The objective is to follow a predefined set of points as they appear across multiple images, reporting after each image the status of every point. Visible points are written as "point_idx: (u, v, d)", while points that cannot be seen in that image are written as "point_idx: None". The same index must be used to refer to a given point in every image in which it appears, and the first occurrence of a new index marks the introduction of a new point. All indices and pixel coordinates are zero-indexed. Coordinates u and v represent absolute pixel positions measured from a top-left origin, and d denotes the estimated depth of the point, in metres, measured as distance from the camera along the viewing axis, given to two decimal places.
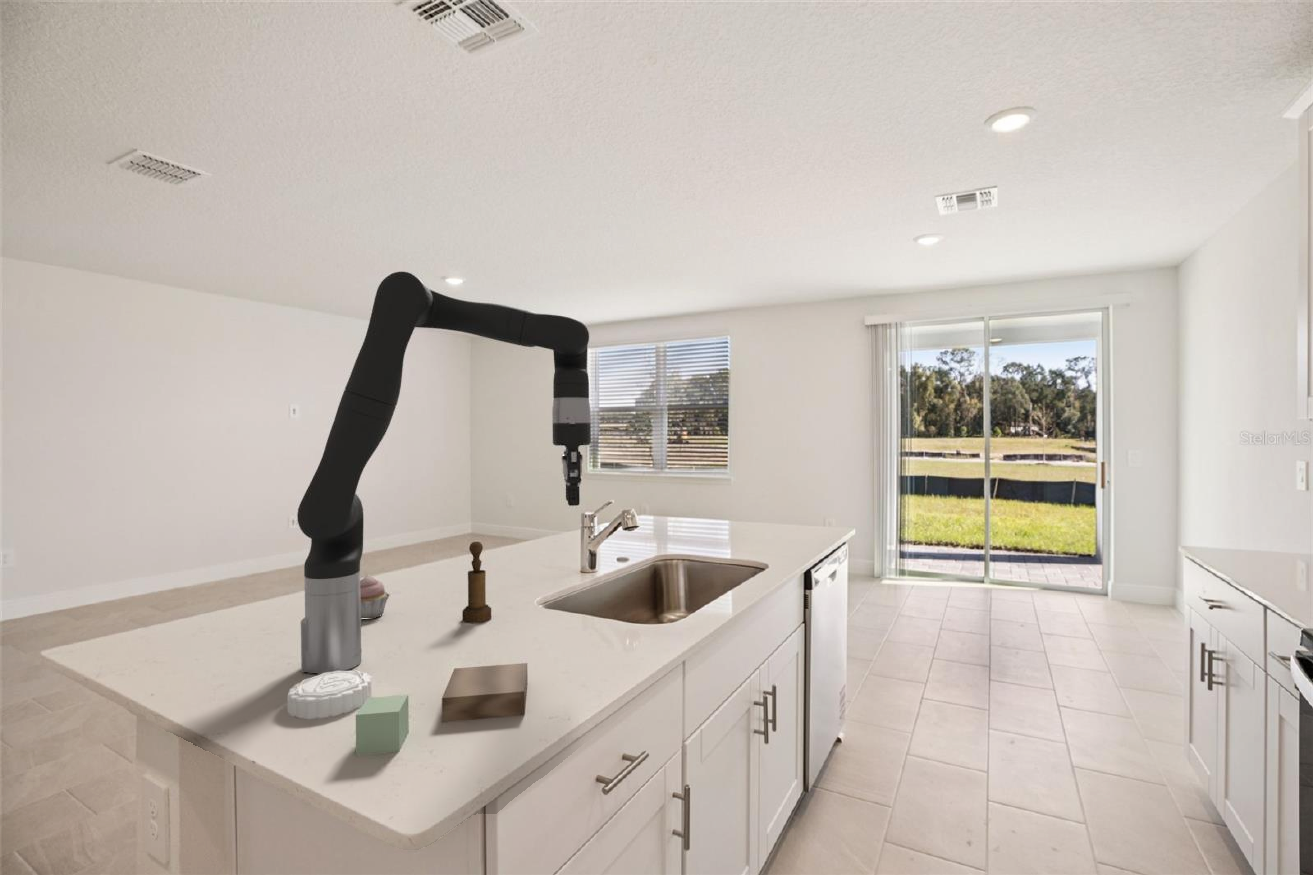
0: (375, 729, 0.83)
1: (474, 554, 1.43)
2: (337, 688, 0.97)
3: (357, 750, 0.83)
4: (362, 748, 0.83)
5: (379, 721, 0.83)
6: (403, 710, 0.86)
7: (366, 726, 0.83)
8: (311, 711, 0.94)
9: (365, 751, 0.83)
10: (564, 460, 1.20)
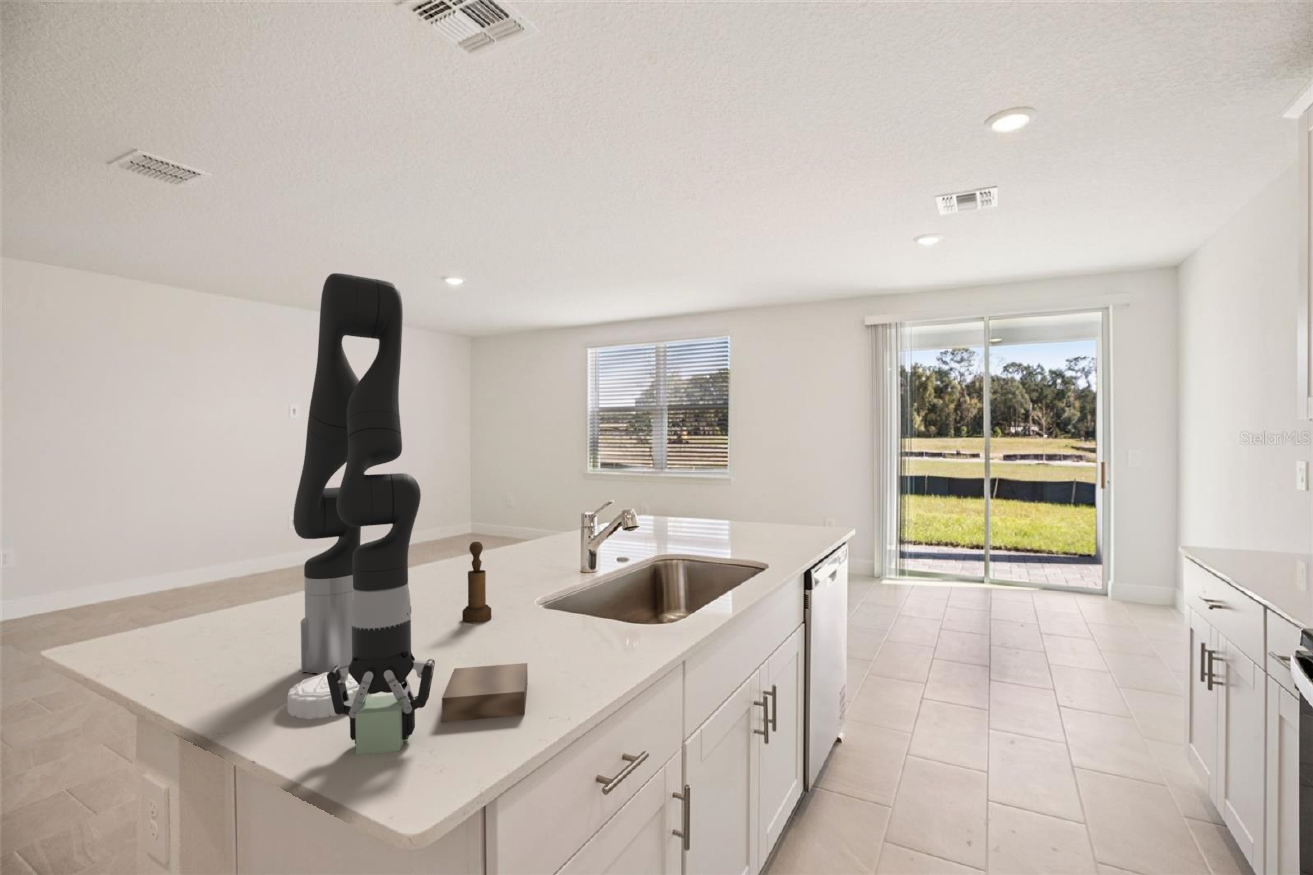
0: (375, 728, 0.83)
1: (474, 554, 1.43)
2: None
3: (357, 749, 0.83)
4: (362, 747, 0.83)
5: (379, 720, 0.83)
6: None
7: (366, 726, 0.83)
8: (311, 711, 0.94)
9: (365, 750, 0.83)
10: (396, 677, 0.85)
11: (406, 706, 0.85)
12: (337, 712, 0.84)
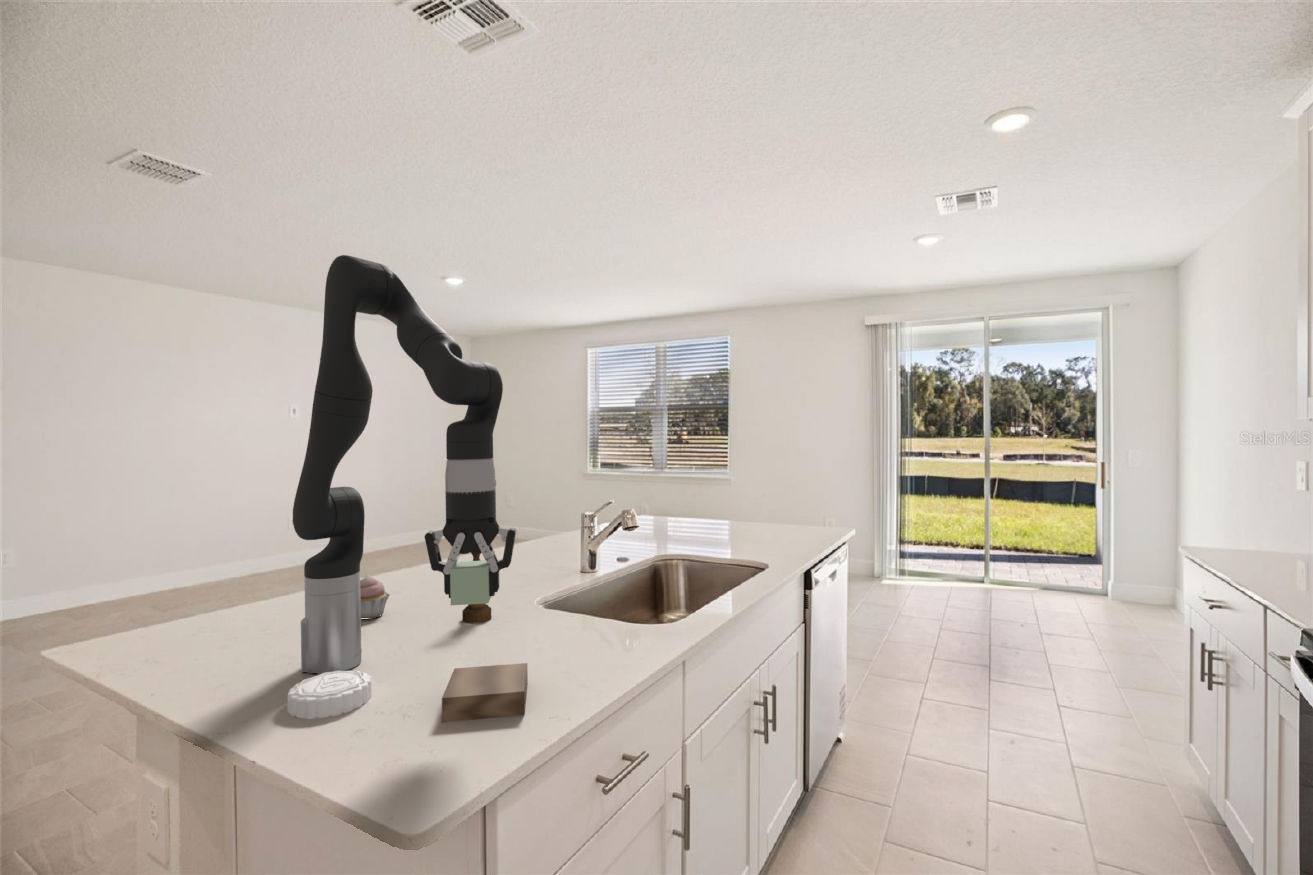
0: (467, 582, 0.94)
1: (474, 554, 1.43)
2: (337, 688, 0.97)
3: (451, 600, 0.94)
4: (456, 598, 0.94)
5: (471, 575, 0.94)
6: (489, 570, 0.97)
7: (459, 579, 0.94)
8: (311, 711, 0.94)
9: (458, 601, 0.94)
10: (484, 539, 0.95)
11: (493, 566, 0.96)
12: (433, 568, 0.95)
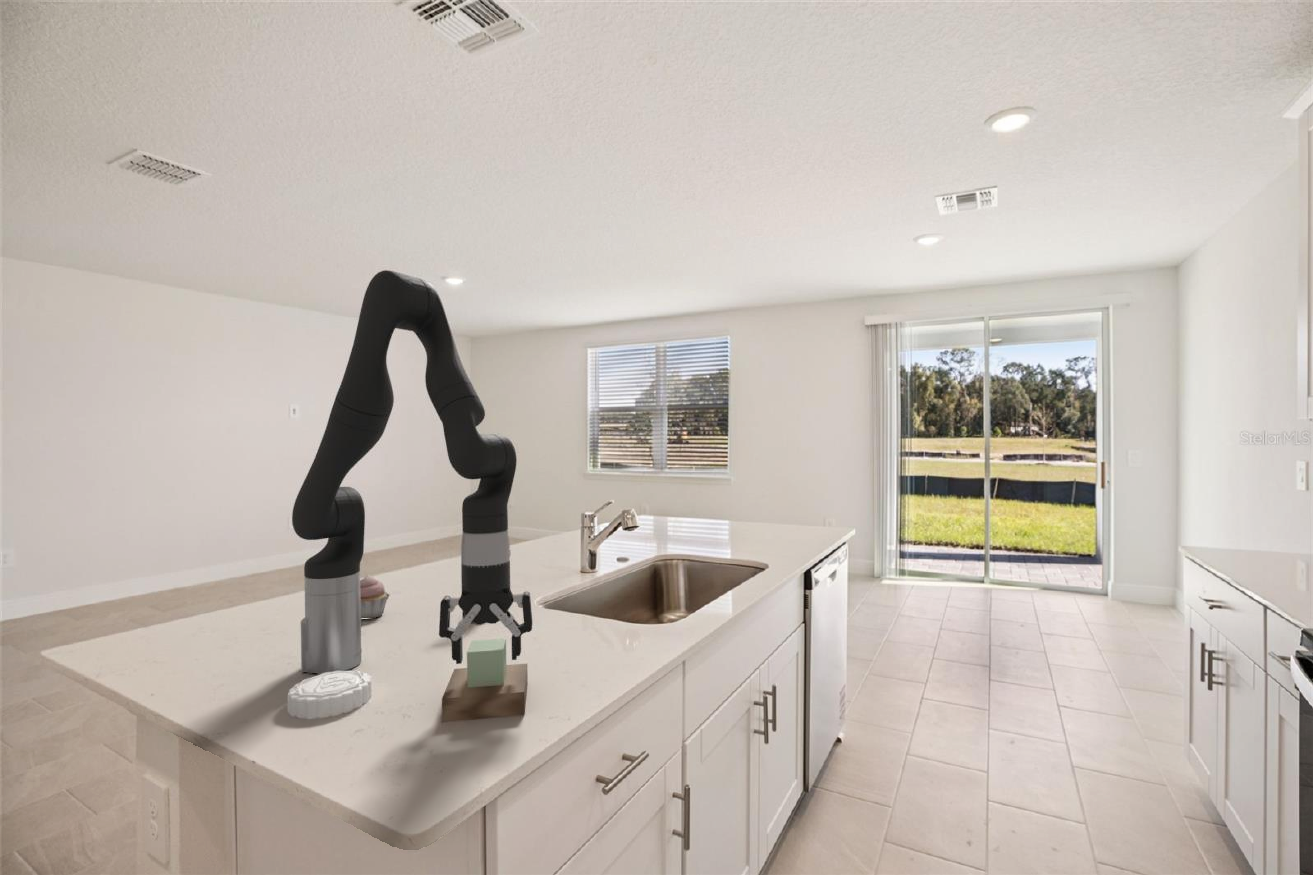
0: (483, 664, 0.96)
1: None
2: (337, 688, 0.97)
3: (468, 682, 0.96)
4: (472, 681, 0.96)
5: (487, 658, 0.96)
6: (504, 650, 0.99)
7: (476, 662, 0.96)
8: (311, 711, 0.94)
9: (475, 683, 0.96)
10: (500, 608, 0.98)
11: (515, 630, 0.98)
12: (441, 635, 0.96)
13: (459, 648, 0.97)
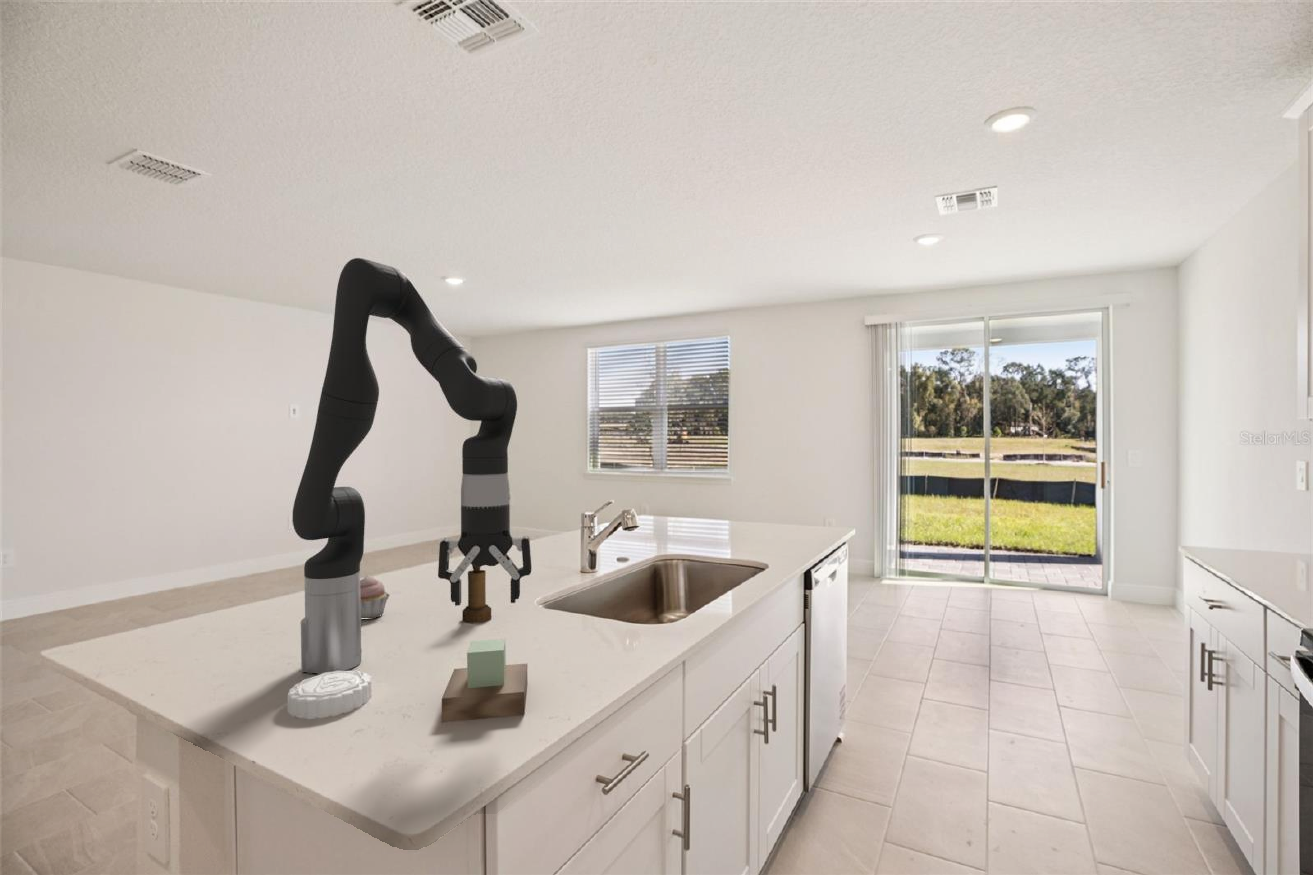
0: (483, 665, 0.96)
1: None
2: (337, 688, 0.97)
3: (468, 683, 0.96)
4: (472, 681, 0.96)
5: (487, 658, 0.96)
6: (504, 650, 0.99)
7: (476, 663, 0.96)
8: (311, 711, 0.94)
9: (475, 684, 0.96)
10: (499, 551, 0.98)
11: (514, 573, 0.98)
12: (440, 576, 0.96)
13: (458, 590, 0.97)
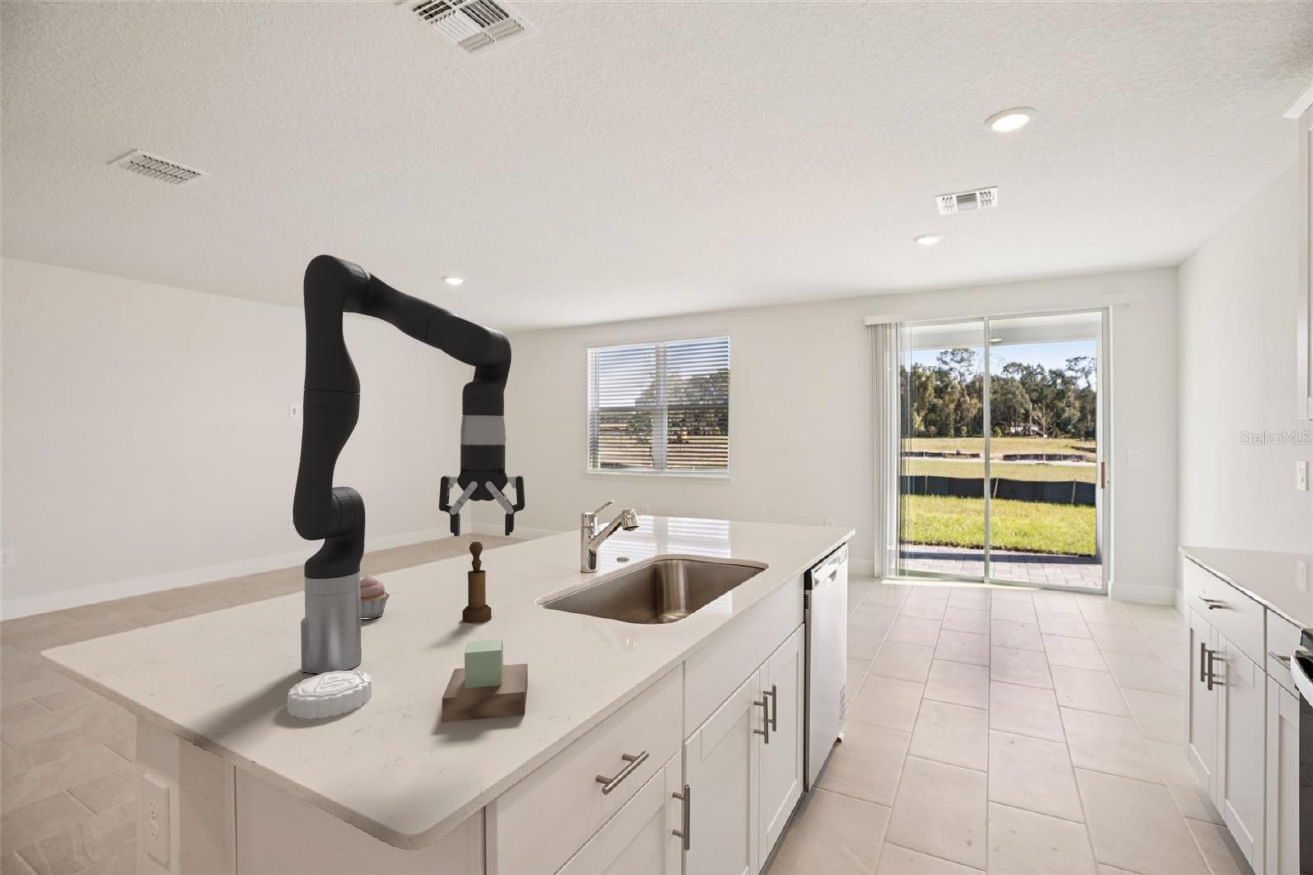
0: (481, 665, 0.96)
1: (474, 554, 1.43)
2: (337, 688, 0.97)
3: (466, 683, 0.96)
4: (470, 682, 0.96)
5: (484, 658, 0.96)
6: None
7: (473, 663, 0.96)
8: (311, 711, 0.94)
9: (472, 684, 0.96)
10: (495, 487, 1.06)
11: (509, 508, 1.07)
12: (440, 508, 1.05)
13: (457, 522, 1.06)
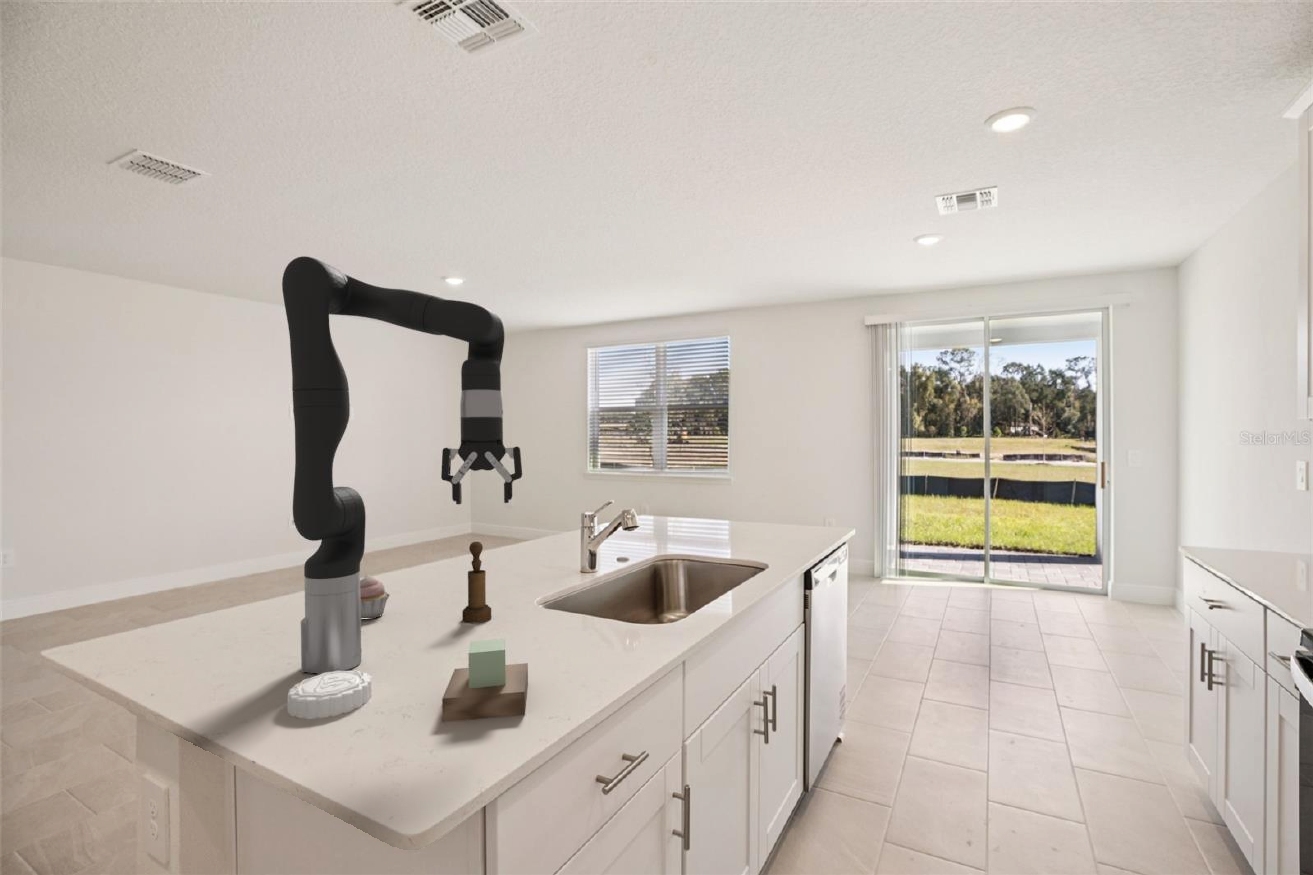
0: (485, 665, 0.96)
1: (474, 554, 1.43)
2: (337, 688, 0.97)
3: (470, 683, 0.95)
4: (474, 682, 0.96)
5: (489, 658, 0.96)
6: None
7: (478, 663, 0.96)
8: (312, 711, 0.94)
9: (476, 684, 0.96)
10: (494, 456, 1.13)
11: (507, 477, 1.14)
12: (443, 478, 1.12)
13: (458, 490, 1.12)
